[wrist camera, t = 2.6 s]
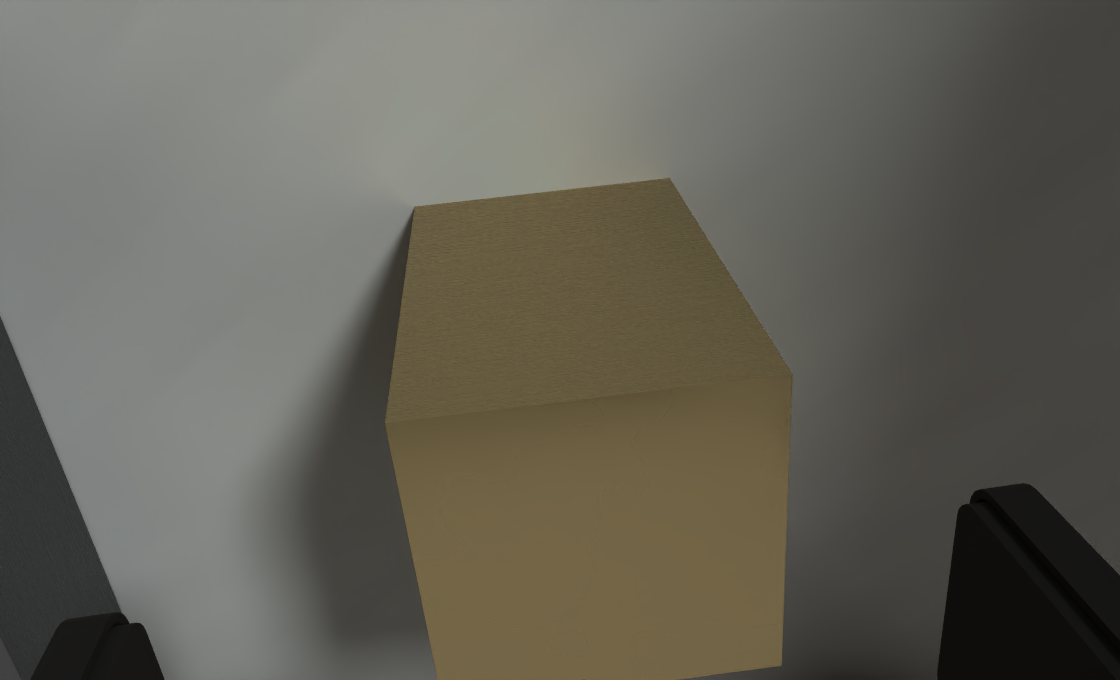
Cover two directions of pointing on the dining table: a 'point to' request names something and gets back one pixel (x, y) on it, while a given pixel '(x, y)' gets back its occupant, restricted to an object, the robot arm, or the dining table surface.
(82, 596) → the grey compartment tray
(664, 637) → the tan cubic block
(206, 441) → the dining table surface
